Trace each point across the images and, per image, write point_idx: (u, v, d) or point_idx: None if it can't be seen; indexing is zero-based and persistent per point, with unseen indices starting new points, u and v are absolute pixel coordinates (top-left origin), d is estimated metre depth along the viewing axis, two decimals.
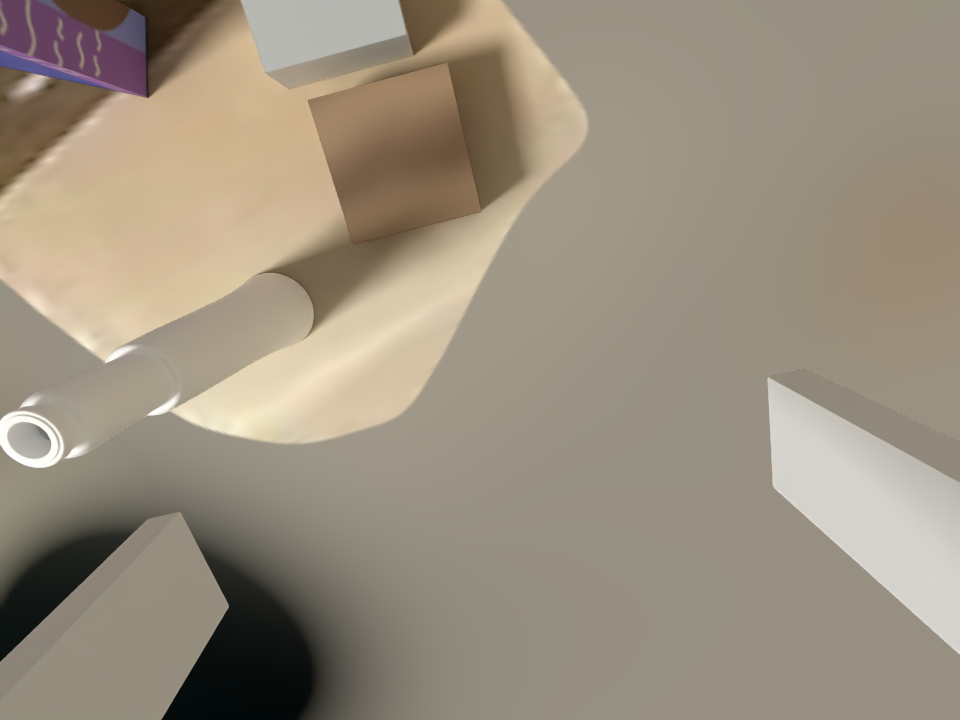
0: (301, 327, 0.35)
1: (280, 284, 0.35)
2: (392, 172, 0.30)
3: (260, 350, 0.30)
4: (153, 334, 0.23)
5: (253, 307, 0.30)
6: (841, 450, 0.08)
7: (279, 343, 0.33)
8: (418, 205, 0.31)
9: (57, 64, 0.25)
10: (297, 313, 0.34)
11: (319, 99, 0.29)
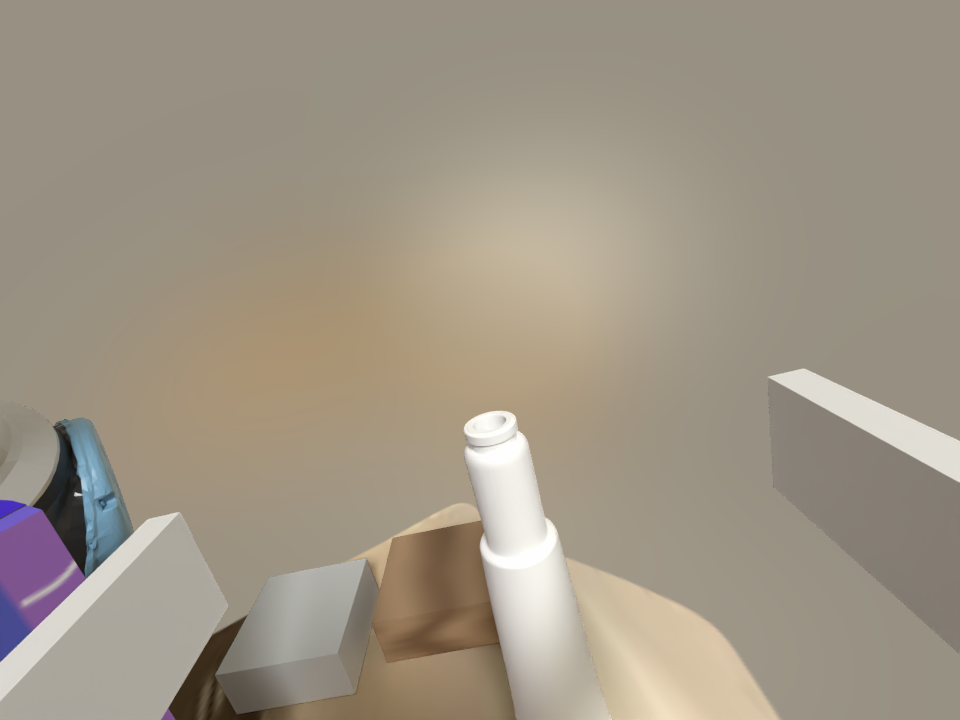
0: None
1: None
2: (445, 569, 0.37)
3: None
4: None
5: None
6: (841, 450, 0.08)
7: None
8: (474, 553, 0.38)
9: None
10: None
11: (375, 614, 0.34)
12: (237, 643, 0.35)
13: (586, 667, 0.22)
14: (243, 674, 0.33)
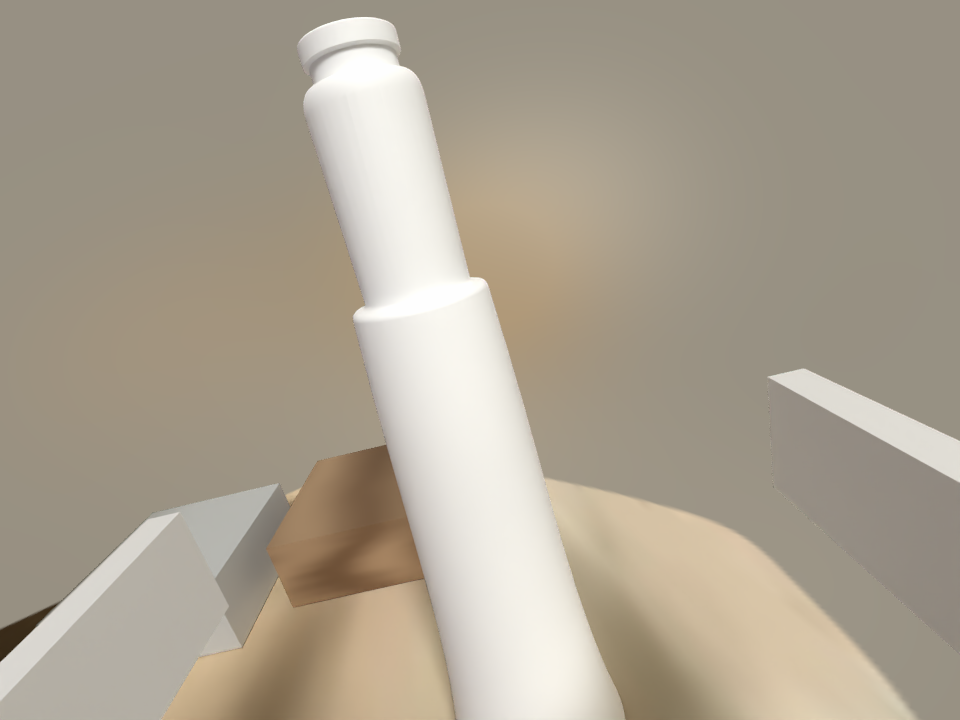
0: None
1: None
2: (376, 484, 0.28)
3: None
4: None
5: None
6: (841, 450, 0.08)
7: None
8: None
9: None
10: None
11: (273, 539, 0.25)
12: None
13: (547, 534, 0.13)
14: None
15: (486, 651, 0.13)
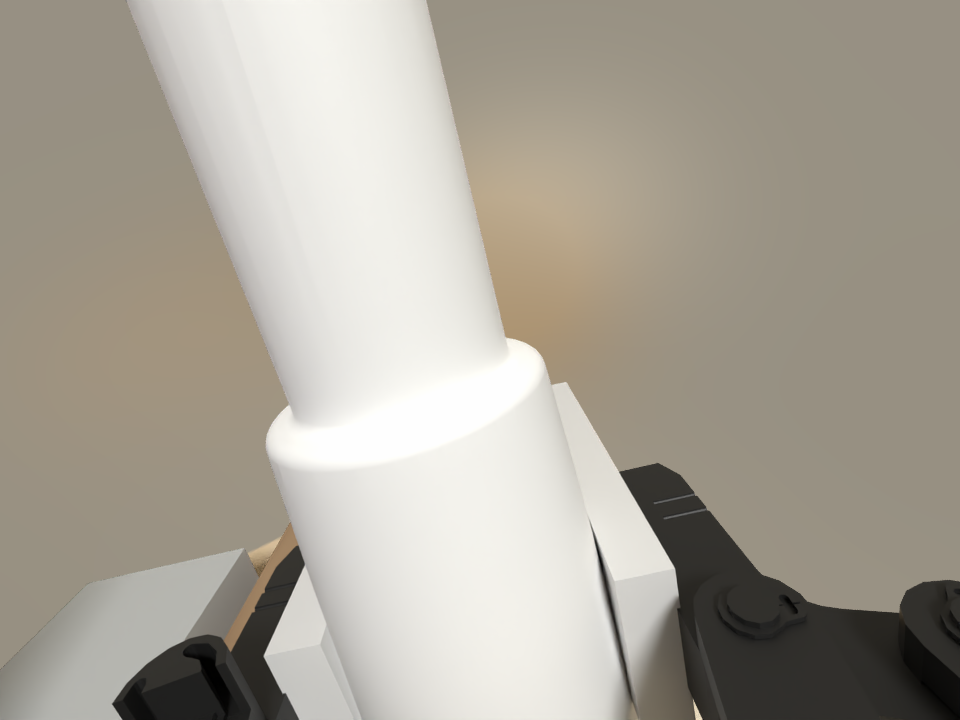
0: None
1: None
2: None
3: None
4: None
5: None
6: None
7: None
8: None
9: None
10: None
11: (225, 643, 0.19)
12: None
13: None
14: None
15: None
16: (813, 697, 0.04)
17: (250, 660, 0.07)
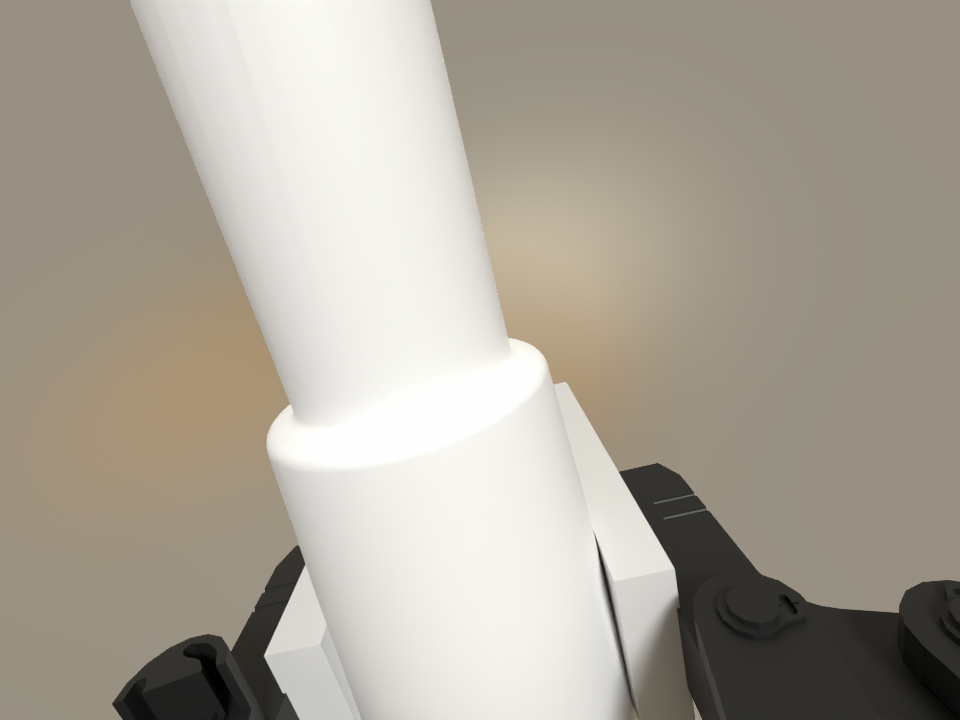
0: None
1: None
2: None
3: None
4: None
5: None
6: None
7: None
8: None
9: None
10: None
11: None
12: None
13: None
14: None
15: None
16: (812, 697, 0.04)
17: (251, 660, 0.07)
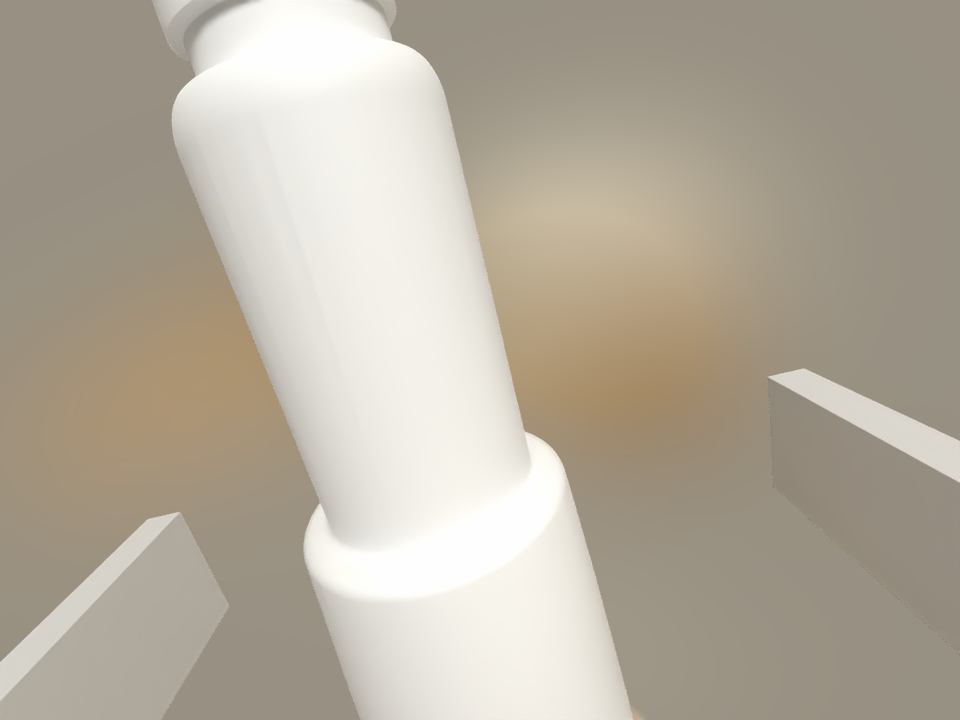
0: None
1: None
2: None
3: None
4: None
5: None
6: (841, 450, 0.08)
7: None
8: None
9: None
10: None
11: None
12: None
13: None
14: None
15: None
16: None
17: None
